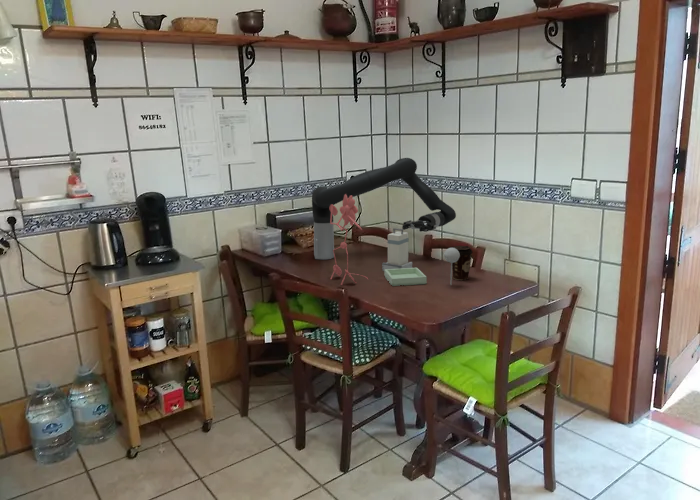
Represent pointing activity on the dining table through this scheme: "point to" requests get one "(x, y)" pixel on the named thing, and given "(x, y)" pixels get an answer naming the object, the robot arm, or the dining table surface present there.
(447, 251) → the lollipop
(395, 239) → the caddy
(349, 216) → the figurine
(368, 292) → the dining table surface
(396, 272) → the tray
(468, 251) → the coffee cup
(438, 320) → the dining table surface
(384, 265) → the bay
